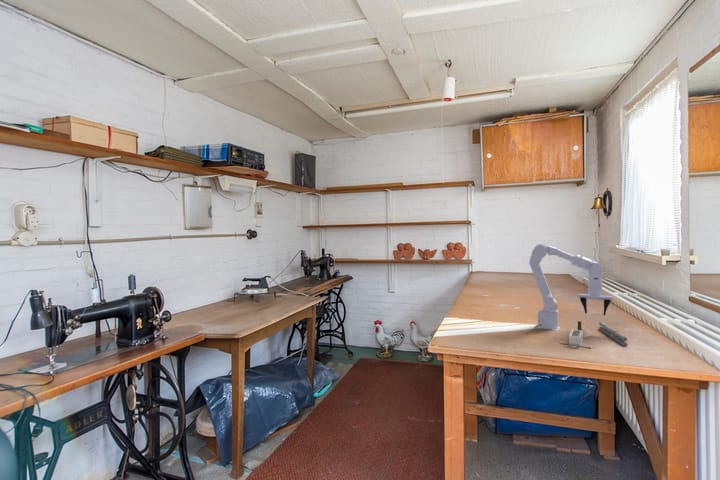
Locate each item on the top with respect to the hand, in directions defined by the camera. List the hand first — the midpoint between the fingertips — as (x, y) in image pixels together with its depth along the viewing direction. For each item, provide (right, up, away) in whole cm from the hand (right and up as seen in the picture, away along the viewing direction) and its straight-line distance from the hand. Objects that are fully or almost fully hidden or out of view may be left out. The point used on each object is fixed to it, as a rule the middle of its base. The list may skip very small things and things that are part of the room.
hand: (595, 313), depth 178 cm
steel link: (-18, -10, -14) cm, 25 cm away
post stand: (-9, -10, -2) cm, 13 cm away
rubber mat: (-18, -10, -14) cm, 25 cm away
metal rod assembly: (+3, -10, -8) cm, 14 cm away
